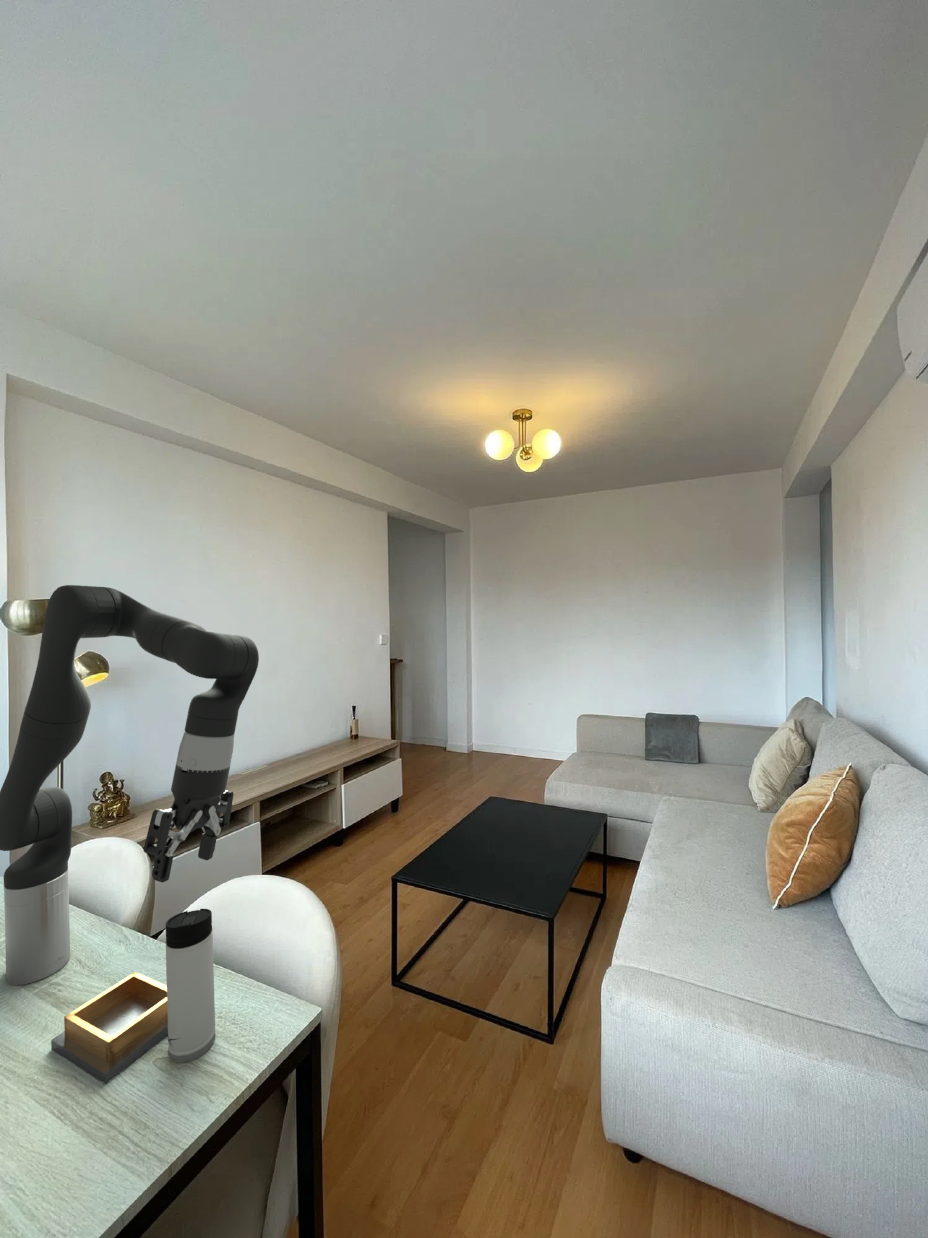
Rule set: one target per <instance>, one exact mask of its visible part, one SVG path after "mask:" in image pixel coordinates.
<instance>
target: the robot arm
mask: <svg viewBox="0 0 928 1238" xmlns="http://www.w3.org/2000/svg"><path fill="white" fill-rule="evenodd" d="M115 636H116V637H126V638H132V639H135V640H136V643H137V644H138V646H139V647H140V648H141V649H142V650H144V651H145V653H149V654H151V655H152V656H154V657H157V658H159V659H163V660H165V661H167V662H171V663H174V664H176V665H177V666H178V667H180V668H181V669H182V670H184V671H185V672H186V673H188V674H190V675H193V676H195V677H198V678H202V679H207V680H210V679H211V680H215V681H214V682H213V685H212V686H211V687H210V689H208V690H206V691H204V692H200V693H197V694H195V695H194V696H193V697H192V698H191V701H190V702H189V706H188V709H187V710H188V711H187V715H186V721H185V725H184V726H185V727H184V731H183V734H182V737H181V741H180V743H179V747H178V752H177V757H176V763H175V766H174V767H175V769H174V772H173V778H172V783H171V788H170V791H171V794H172V795H173V802H172V805H171V807H170V808H167V809H160V808H156V809H153V812H152V814H151V817H150V822H149V826H148V829H147V834H146V838H145V842H144V846H143V853H146V854H149V855H152V856H154V862H153V866H152V871H151V876H152V878H153V881H156V882H159V883H165V882H168V881H169V880H170V876H171V872H172V871H171V870H172V866H173V860H174V854H173V853H174V852H175V851H176V849H177V847H178V846H179V845H180V843H181V842H184V841H185V840H186V838H187V837H188V835H189V834H190V833H192V832H194V831H196V830H197V829H201V830H202V832H203V833H202V834H201V838H200V841H199V848H198V852H197V853H198V854H197V856H198V859H201V860H204V861H209V860H211V859H212V858H213V856H214V853H215V849H216V843H217V838H218V836H219V835H220V833H221V831H222V830H223V828H224V829H227V828H228V827H229V825H230V821H231V816H232V815H231V813H232V807H233V800H234V794H235V793H234V792H233V791H231V790H226V789H227V784H228V779H229V774H230V768H231V763H232V758H233V752H234V743H235V742H234V741H235V740H234V739H235V733H236V727H237V721H238V716H239V711H240V708H241V705H242V704H243V701H244V700H245V697H246V696H247V693H248V691H249V689H250V688H251V687H250V686H251V684H252V682H253V680H254V678H255V675H256V674H257V672H258V666H259V661H260V660H259V659H260V656H259V650H258V647H257V645H256V643H255V642H254V641H253V640H252V639H251V638H250V637H248V636H244V635H240V634H239V635H238V634H237V635H236V634H230V633H229V634H228V633H221V632H220V633H219V632H213V631H208V630H206V629H205V628H204V627H203V626H201V625H199V624H197V623H194V622H192V621H190V620H185V619H182V618H179V617H176V616H173V615H168V614H166V613H164V612H163V613H162V612H159V611H158V610H155V609H153V608H151V607H149V606H147V605H145V604H144V603H141V602H139V601H138V600H136V599H135V598H133V597H131V596H129V595H128V594H126V593H124V592H123V591H120V590H119V589H118V590H117V589H115V588H112V587H109V586H108V587H107V586H92V585H77V584H76V585H75V584H66V585H61V586H59V587H57V588H56V589H54V591H53V592H52V594H51V596H50V598H49V600H48V602H47V605H46V610H45V613H44V620H43V626H42V633H41V640H40V647H39V653H38V659H37V666H36V668H35V669H36V670H35V673H34V676H33V681H32V685H31V687H30V688H31V689H30V692H29V695H28V699H27V702H26V705H25V708H24V712H23V715H22V719H21V722H20V728H19V731H18V737H17V741H16V744H15V747H14V752H13V755H12V759H11V762H10V765H9V767H8V771H7V774H6V776H5V778H4V782H3V783H2V786H1V788H0V851H3V852H6V851H7V852H9V851H10V852H11V851H15V850H18V849H21V848H25V847H28V846H30V845H31V846H30V847H29V848H28V850H27V851H25V853H24V854H23V855H21V856H20V857H19V858H17V860H15V861H14V862H12V863H11V864H10V865H9V866H8V867H7V868H6V869H5V870H4V872H3V902H4V907H3V908H4V934H5V935H4V939H5V940H4V942H5V943H4V944H5V945H4V947H5V981H6V983H7V984H9V985H13V986H19V985H26V984H30V983H34V982H38V981H40V980H42V979H45V978H47V977H50V976H51V975H52V974H53V975H54V974H55V973H56V972H58V971H59V970H61V969H62V968H63V967H64V966H65V965H67V964H68V962H69V961H70V959H71V941H70V940H71V938H70V937H71V934H70V933H71V931H70V930H71V928H70V897H69V896H70V892H69V890H70V888H69V886H70V885H69V859H70V857H71V852H72V833H73V832H72V831H73V830H72V829H73V807H72V802H71V798H70V796H69V794H68V792H66V790H64V789H63V788H61V787H59V786H52V787H50V786H49V787H47V788H43V789H41V787H42V786H43V784H44V783H45V782H46V780H47V778H48V777H49V776H50V775H51V774H52V773H53V772H54V770H56V768H58V766H59V765H60V764H61V763H62V762H63V761H64V760H65V759H66V758H67V757H68V756H69V755H70V754H71V753H72V752H73V750H75V748H76V746H77V745H79V743H80V741H81V740H82V738H83V736H84V733H85V730H86V727H87V723H88V719H89V716H90V712H91V708H92V704H91V703H92V702H91V698H90V694H89V692H88V690H87V688H86V686H85V684H84V683H83V681H82V679H81V678H80V676H79V674H78V671H77V669H76V666H75V659H76V653H77V652H76V651H77V649H78V644H79V642H80V640H81V639H97V638H98V639H99V638H101V639H102V638H109V637H115ZM221 814H222V818H221ZM174 828H176V830H178V831H174V830H173V829H174ZM156 839H157V842H156ZM170 839H172V840H171V841H170V843H169V844H168V845H167V843H168V842H169V840H170ZM155 842H156V843H155Z"/></svg>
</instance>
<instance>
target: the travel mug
mask: <svg viewBox="0 0 928 1238" xmlns="http://www.w3.org/2000/svg"><path fill="white" fill-rule="evenodd" d="M212 912H213V911H212V910H210V909H208V908H200V909H195V910H190V911H188V910H185V911H182V912H179V913H177V914H175V915H173V916H172V917H170V918H169V919H168V920H166V922H165V960H166V961H165V963H166V964H165V968H166V970H165V971H166V973H165V974H166V986H167V1014H168V1035H167V1043H168V1044H167V1045H168V1049H167V1050H168V1058H169V1059H170V1060H171V1061H173V1062H175V1063H187V1062H191V1061H193V1060H195V1059H197V1058H199V1057H201V1056H202V1055H204V1054H205V1053H207V1052H208V1051H209V1049H210V1048H211V1047H212V1045H213V1044H214V1042H215V1040H216V1012H215V1011H216V1009H215V1008H216V1007H215V972H214V971H215V969H214V968H215V967H214V935H213V934H214V933H213V932H214V931H213V930H214V929H213V925H212V924H213V916H212V914H213V913H212Z"/></svg>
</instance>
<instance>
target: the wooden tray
mask: <svg viewBox="0 0 928 1238" xmlns="http://www.w3.org/2000/svg"><path fill="white" fill-rule="evenodd" d="M63 1018H64V1019H63V1020H64V1022H63V1023H64V1028H63V1029H64V1030H63V1032H61V1033H59V1034H57V1035H56V1036H55V1037H53V1038H52V1039H51V1040H50V1043H51V1044H50V1046H51V1048H50V1049H51V1051H53V1052H54V1053H56V1054H57V1055H59V1056H61V1058H63V1059H65V1060H67V1061H68V1062H70V1063H71V1064H73V1065H74V1066H76V1067H78V1068H79V1069H80V1070H83V1071H84V1072H86V1073H87V1074H89V1075H90V1076H92V1077H93V1078H95V1079H96V1080H98V1081H99V1082H101V1083H103V1084H104V1085H107V1084H108V1083H109V1082H111V1081H112V1080H113V1079H115V1078H116V1077H117V1076H118V1075H119V1074H121V1073H122V1072H124V1070H126V1069H127V1068H128V1067H129V1066H131V1065H132V1064H134V1063H135V1062H136V1061H137V1060H139V1059H140V1058H141V1057H142V1056H143V1055H145V1054H146V1053H147V1052H149V1051H150V1050H151V1049H152V1048H154V1047H155V1046H156V1045H158V1044H159V1043H160V1042H162V1040H164V1039H165V1038H167V1037H168V1014H167V984H164V983H161V982H159V981H157V980H155V979H153V978H150V977H148V976H146V975H144V974H142V973H139V972H137V971H134V972H132V973H131V974H130V975H128V976H127V977H124V979H122V980H120V981H119V982H117V983H116V984H114V985H113V986H111V987H109V988H108V989H106V990H104V991H102V992H101V993H100V994H98V995H96V996H95V997H94V998H91V999H90V1000H89V1001H87V1002H85V1003H84V1004H82V1005H81V1006H79V1007H78V1008H76V1009H74V1010H73V1011H71V1012H69V1013H68V1014H66V1015H65V1016H63Z"/></svg>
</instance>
